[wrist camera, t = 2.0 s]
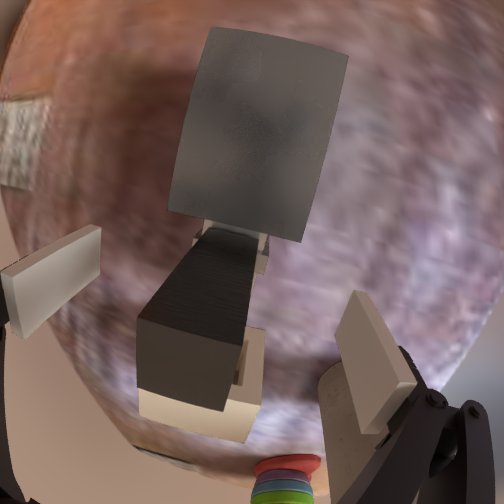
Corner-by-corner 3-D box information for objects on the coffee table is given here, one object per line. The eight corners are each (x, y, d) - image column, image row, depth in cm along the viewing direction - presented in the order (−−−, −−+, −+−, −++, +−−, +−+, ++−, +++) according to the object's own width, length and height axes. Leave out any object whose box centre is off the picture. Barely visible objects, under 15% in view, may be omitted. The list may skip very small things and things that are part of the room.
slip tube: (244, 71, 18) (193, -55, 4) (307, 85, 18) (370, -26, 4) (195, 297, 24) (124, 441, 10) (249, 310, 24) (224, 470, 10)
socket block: (175, 307, 28) (138, 373, 18) (265, 330, 28) (261, 405, 18) (170, 349, 29) (139, 415, 20) (252, 370, 30) (244, 443, 20)
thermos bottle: (375, 400, 31) (423, 600, 4) (314, 407, 31) (327, 625, 5) (390, 353, 28) (473, 589, 2) (320, 359, 29) (350, 634, 2)
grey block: (234, 72, 20) (210, 26, 11) (319, 92, 20) (348, 55, 11) (206, 187, 24) (166, 210, 14) (289, 207, 24) (300, 242, 15)
